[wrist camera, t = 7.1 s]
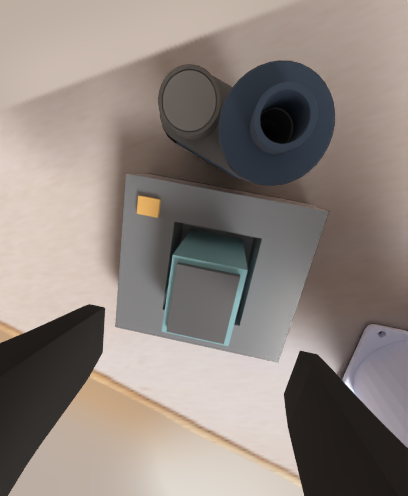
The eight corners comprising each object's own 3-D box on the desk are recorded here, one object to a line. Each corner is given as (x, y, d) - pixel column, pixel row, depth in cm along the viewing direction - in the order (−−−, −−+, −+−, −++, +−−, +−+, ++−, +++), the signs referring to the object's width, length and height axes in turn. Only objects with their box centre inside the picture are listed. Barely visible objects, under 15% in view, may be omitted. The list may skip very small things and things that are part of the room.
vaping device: (251, 186, 16) (301, 220, 5) (181, 145, 16) (48, 71, 4) (273, 149, 15) (402, 77, 4) (200, 105, 15) (99, -117, 3)
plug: (242, 238, 17) (248, 272, 11) (229, 294, 18) (228, 350, 12) (191, 228, 17) (171, 256, 11) (181, 284, 18) (160, 335, 13)
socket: (309, 203, 16) (331, 212, 12) (270, 330, 19) (279, 366, 15) (146, 173, 16) (123, 173, 13) (134, 301, 20) (113, 329, 16)
